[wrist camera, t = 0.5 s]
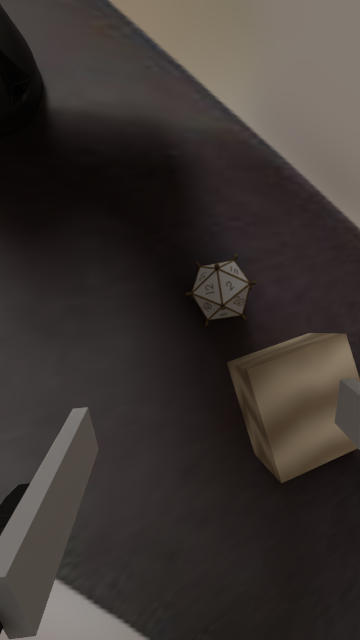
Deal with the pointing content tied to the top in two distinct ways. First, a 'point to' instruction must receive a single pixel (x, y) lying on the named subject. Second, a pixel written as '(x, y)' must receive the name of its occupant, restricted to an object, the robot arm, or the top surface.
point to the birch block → (294, 401)
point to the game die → (221, 290)
